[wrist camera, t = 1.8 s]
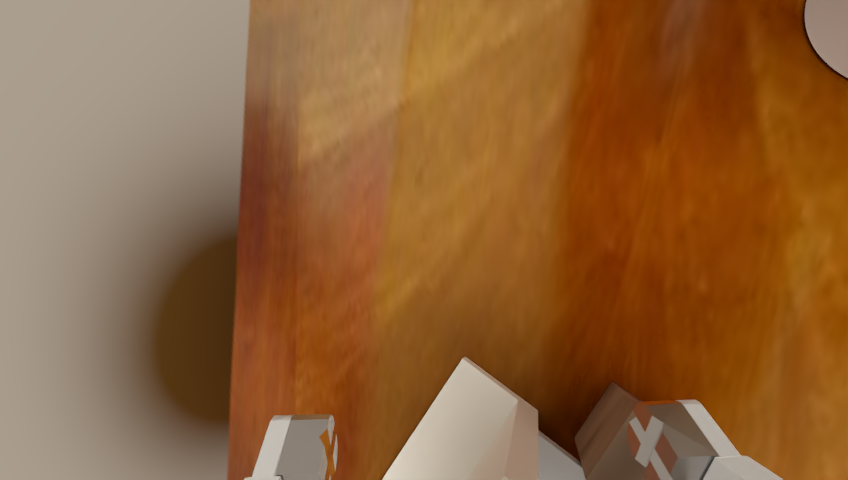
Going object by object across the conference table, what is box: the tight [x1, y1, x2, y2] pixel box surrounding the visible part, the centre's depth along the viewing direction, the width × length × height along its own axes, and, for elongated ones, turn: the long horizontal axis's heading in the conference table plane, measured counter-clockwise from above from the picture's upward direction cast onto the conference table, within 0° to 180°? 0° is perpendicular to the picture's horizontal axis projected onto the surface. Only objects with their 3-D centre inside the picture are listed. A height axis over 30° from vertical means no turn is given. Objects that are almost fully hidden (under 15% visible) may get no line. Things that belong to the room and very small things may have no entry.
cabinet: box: [574, 381, 646, 480], centre depth 31 cm, size 6×6×9 cm
